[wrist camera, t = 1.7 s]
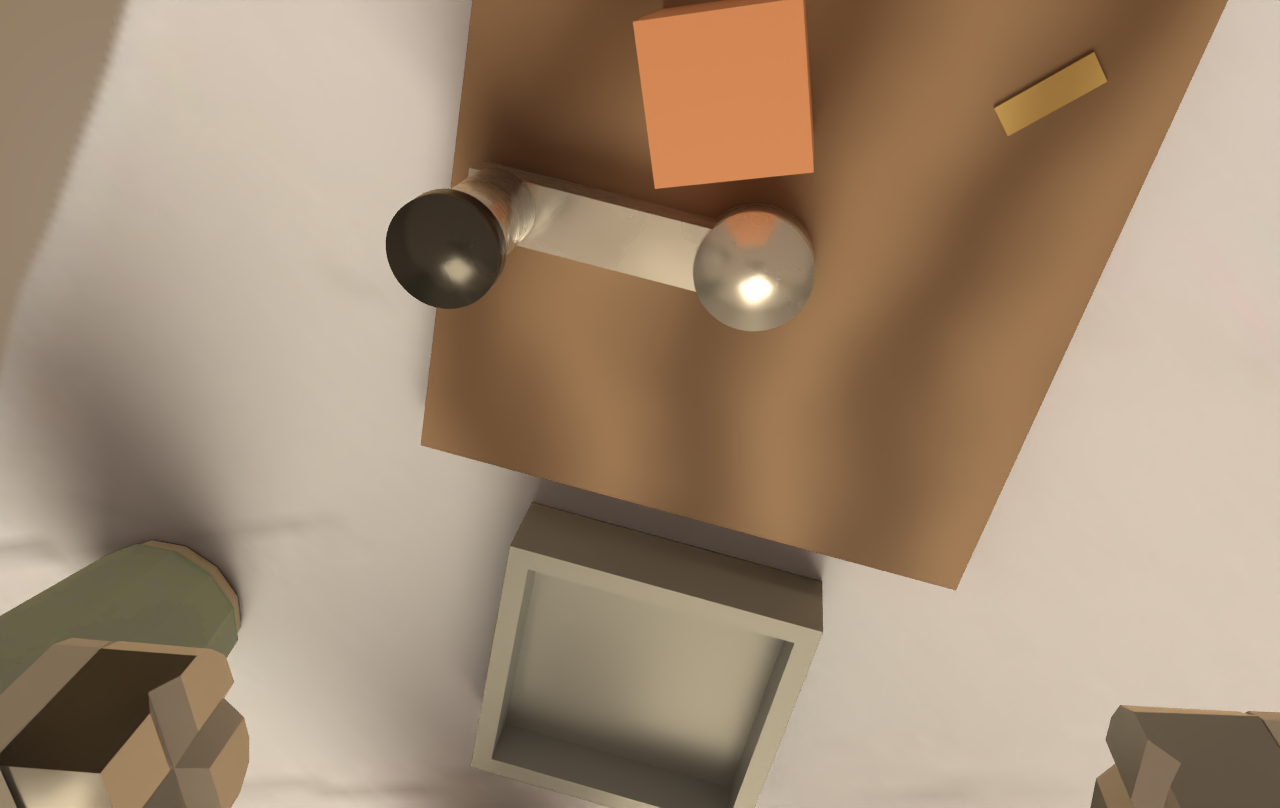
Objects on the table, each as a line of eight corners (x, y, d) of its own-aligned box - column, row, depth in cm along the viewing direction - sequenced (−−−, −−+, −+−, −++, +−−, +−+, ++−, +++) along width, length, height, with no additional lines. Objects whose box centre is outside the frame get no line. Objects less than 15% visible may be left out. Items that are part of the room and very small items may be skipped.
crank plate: (1209, -10, 26) (1233, -7, 24) (950, 565, 35) (955, 592, 34) (509, -174, 27) (491, -181, 25) (435, 426, 36) (419, 446, 35)
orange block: (804, -12, 26) (803, -3, 22) (813, 136, 28) (813, 172, 23) (662, 9, 27) (632, 21, 22) (679, 151, 29) (654, 188, 24)
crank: (829, 219, 28) (833, 284, 23) (796, 327, 30) (791, 411, 25) (470, 129, 29) (391, 171, 24) (456, 239, 31) (380, 303, 25)
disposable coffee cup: (194, 718, 46) (-61, 1037, 32) (17, 563, 43) (-341, 841, 30) (332, 622, 41) (104, 944, 28) (145, 444, 39) (-205, 706, 25)
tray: (822, 581, 36) (822, 632, 34) (744, 787, 42) (740, 845, 39) (532, 502, 37) (510, 546, 34) (492, 714, 42) (470, 767, 39)
